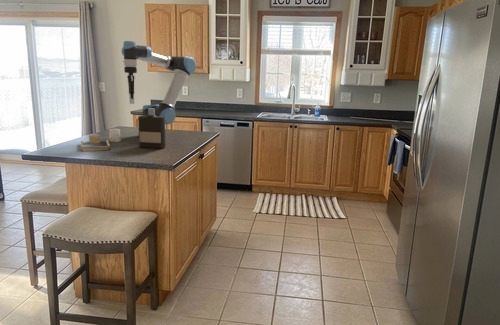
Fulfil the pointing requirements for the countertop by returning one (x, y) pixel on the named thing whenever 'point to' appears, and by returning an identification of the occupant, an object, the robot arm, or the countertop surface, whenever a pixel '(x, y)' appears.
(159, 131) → the bottle
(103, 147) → the wooden l-shaped bracket
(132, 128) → the countertop surface
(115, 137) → the white rounded capsule
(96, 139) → the oak block
